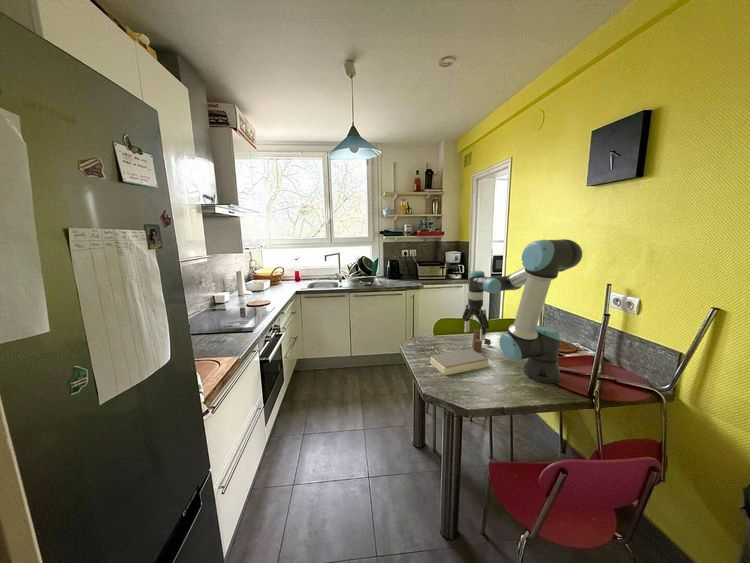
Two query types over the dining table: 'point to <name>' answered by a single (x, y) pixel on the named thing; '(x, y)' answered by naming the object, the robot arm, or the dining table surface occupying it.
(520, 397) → the dining table surface
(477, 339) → the wooden block set
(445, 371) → the two-tone flat slab
